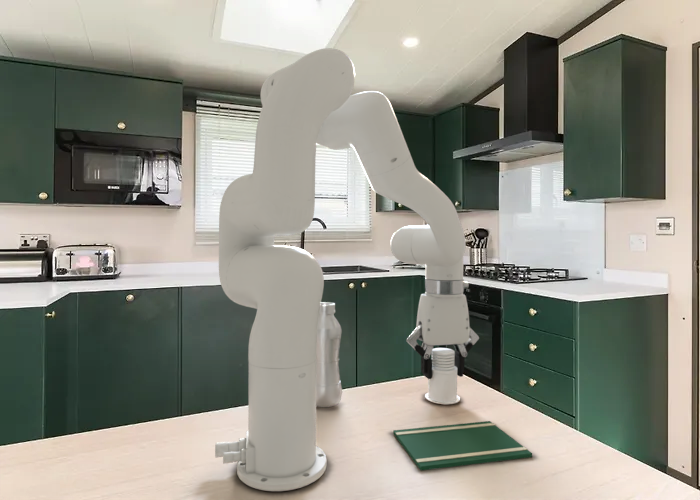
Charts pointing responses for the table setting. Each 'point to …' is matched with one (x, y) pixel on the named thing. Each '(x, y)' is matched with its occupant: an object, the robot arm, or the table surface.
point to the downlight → (443, 378)
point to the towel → (459, 445)
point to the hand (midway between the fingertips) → (442, 374)
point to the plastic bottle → (328, 357)
